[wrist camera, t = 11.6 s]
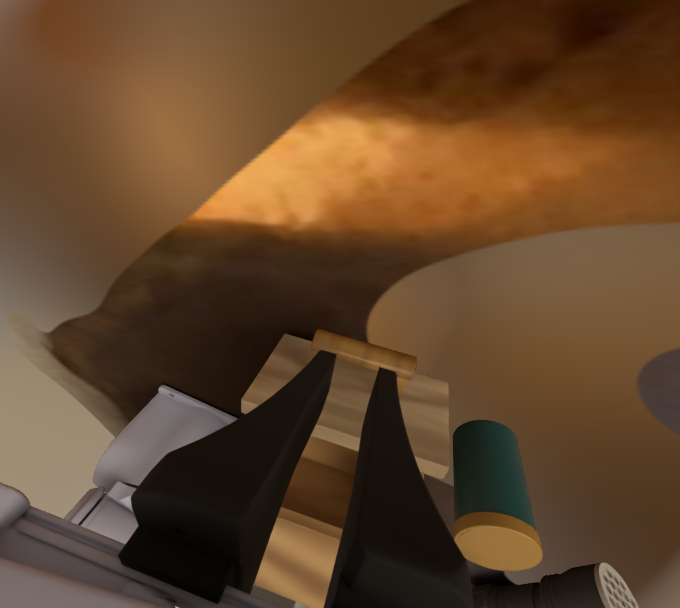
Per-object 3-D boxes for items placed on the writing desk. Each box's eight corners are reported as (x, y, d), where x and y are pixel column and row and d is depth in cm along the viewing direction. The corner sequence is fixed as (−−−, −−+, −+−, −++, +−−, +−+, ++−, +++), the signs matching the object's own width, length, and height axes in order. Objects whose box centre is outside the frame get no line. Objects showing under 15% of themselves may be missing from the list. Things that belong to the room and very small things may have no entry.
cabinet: (274, 409, 32) (227, 498, 25) (417, 456, 31) (409, 566, 24) (267, 490, 40) (230, 575, 33) (380, 531, 39) (366, 629, 32)
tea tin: (443, 449, 29) (442, 552, 23) (464, 411, 27) (470, 516, 20) (502, 468, 29) (520, 580, 22) (530, 431, 26) (559, 546, 19)
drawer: (289, 285, 24) (240, 345, 18) (470, 336, 22) (479, 419, 16) (274, 440, 33) (240, 511, 28) (400, 483, 32) (390, 567, 26)
